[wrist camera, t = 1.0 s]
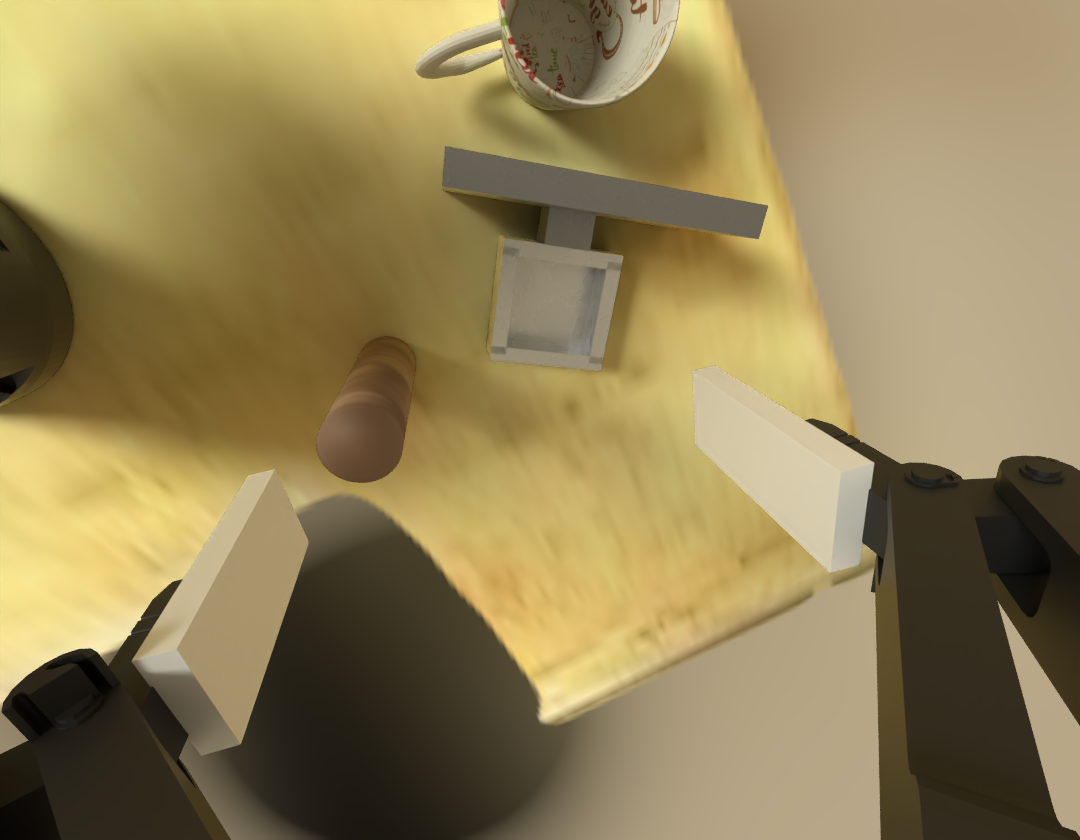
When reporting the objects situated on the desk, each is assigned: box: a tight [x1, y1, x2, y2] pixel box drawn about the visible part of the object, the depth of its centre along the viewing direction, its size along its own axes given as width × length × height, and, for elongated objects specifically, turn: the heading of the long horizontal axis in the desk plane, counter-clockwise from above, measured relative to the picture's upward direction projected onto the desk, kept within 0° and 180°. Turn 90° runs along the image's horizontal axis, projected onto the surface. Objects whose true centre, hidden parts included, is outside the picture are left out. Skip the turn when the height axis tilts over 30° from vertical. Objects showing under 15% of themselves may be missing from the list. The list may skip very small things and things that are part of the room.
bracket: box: [442, 146, 768, 371], centre depth 32 cm, size 16×12×12 cm
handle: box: [316, 337, 416, 483], centre depth 31 cm, size 4×4×14 cm
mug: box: [415, 0, 680, 110], centre depth 27 cm, size 8×13×10 cm, turn 107°
